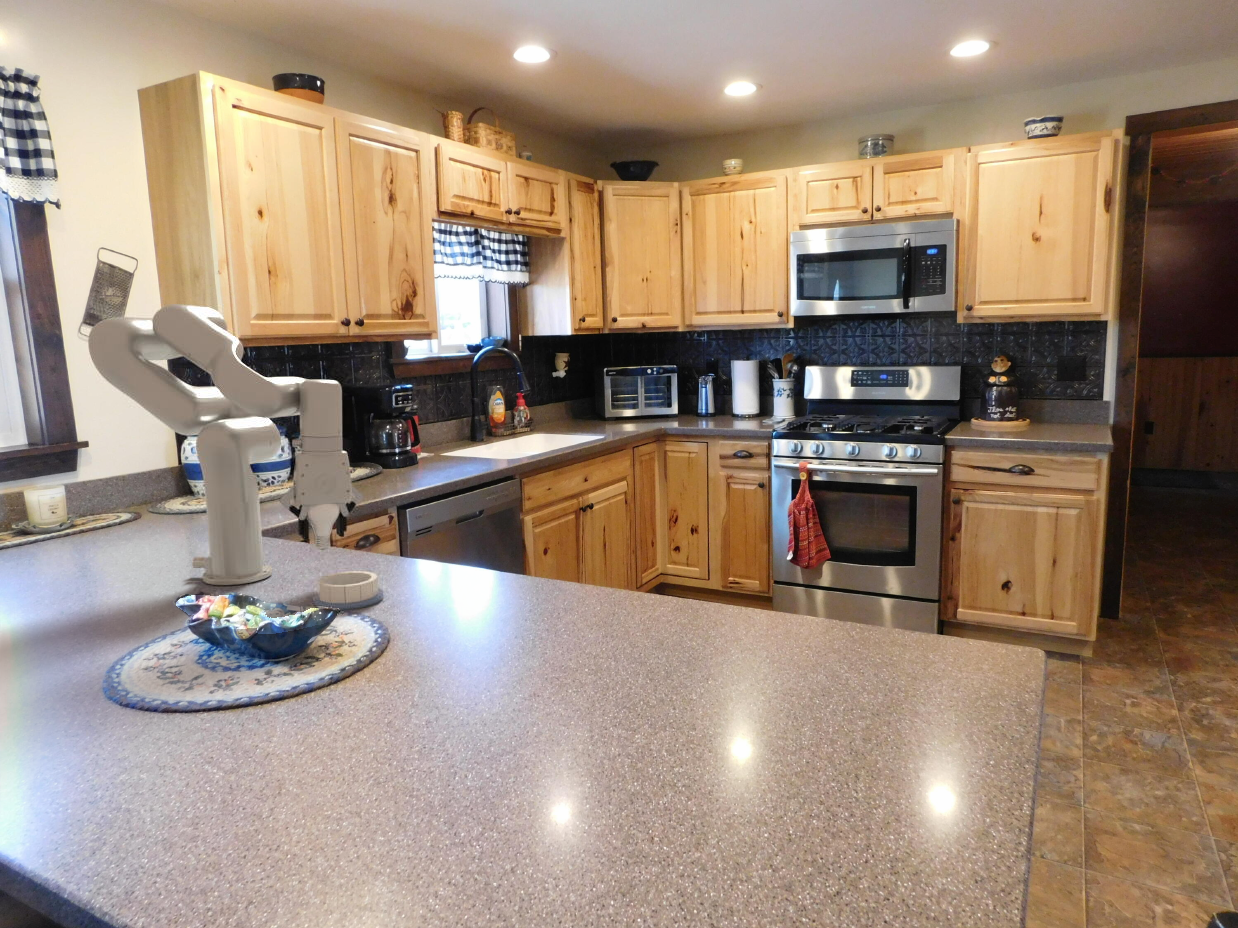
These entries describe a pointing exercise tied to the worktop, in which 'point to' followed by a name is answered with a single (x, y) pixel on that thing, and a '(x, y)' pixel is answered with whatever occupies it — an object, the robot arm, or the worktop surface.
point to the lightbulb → (323, 522)
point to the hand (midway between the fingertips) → (322, 536)
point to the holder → (348, 590)
